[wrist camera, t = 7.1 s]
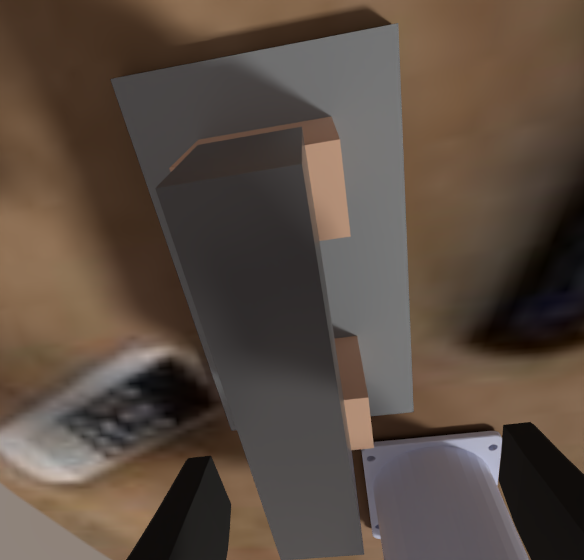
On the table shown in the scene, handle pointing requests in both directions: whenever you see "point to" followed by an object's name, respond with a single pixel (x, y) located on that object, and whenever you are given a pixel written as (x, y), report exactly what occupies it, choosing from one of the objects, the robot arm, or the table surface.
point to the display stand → (324, 183)
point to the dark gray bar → (270, 330)
